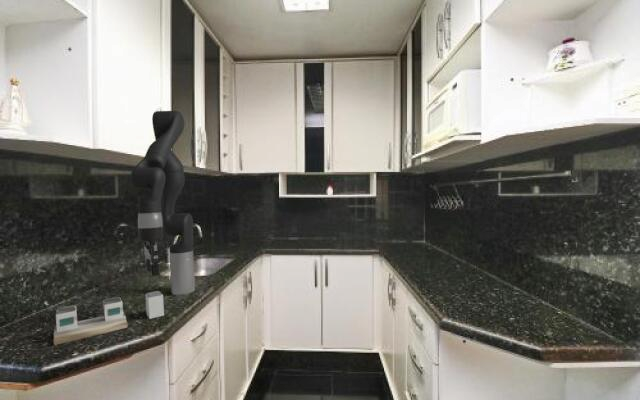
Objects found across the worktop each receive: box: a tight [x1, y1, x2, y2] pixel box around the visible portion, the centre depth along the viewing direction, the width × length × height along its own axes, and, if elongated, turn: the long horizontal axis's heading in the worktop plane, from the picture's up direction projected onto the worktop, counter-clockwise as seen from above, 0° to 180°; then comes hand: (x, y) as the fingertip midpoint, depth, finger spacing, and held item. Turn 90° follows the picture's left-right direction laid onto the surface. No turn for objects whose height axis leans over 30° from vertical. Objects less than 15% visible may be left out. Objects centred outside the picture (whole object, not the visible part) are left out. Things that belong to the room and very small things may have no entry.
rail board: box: [53, 296, 129, 346], centre depth 103 cm, size 12×18×8 cm, turn 127°
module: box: [145, 290, 165, 320], centre depth 114 cm, size 6×4×8 cm
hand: (152, 273), depth 113 cm, fingers open, 8 cm apart
